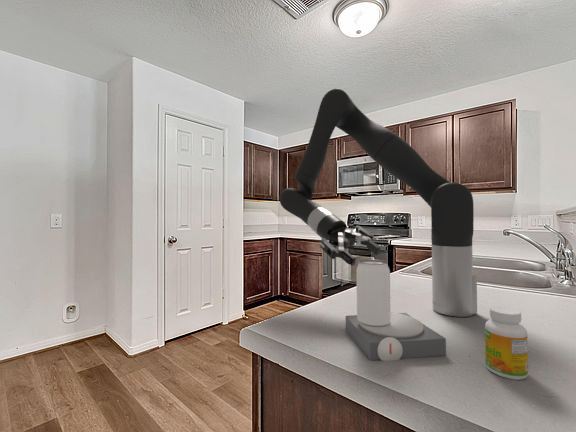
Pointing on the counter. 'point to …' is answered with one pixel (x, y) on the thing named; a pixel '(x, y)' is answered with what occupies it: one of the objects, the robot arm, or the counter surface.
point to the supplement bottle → (506, 344)
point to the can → (373, 293)
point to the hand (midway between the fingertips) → (366, 257)
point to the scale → (396, 338)
